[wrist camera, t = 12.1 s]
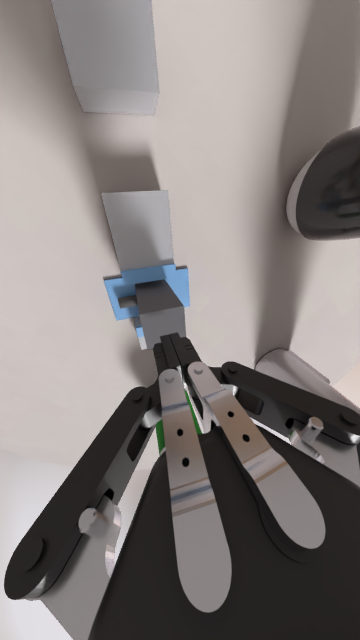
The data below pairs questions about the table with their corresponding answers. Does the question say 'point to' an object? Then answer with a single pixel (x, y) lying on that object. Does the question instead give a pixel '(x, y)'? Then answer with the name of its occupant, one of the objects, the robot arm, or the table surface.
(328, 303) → the table surface
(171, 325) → the dark grey bar
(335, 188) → the black egg-shaped body
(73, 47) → the blue-tipped block chain
